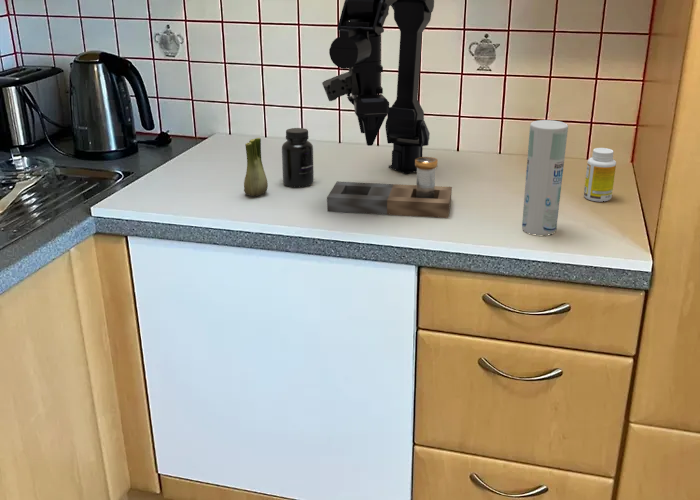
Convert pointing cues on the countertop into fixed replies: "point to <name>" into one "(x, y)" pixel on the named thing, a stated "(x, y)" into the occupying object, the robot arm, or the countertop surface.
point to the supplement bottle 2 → (600, 175)
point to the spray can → (544, 176)
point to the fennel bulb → (254, 170)
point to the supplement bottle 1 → (297, 159)
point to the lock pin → (425, 177)
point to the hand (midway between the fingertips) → (366, 139)
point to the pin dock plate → (388, 200)
